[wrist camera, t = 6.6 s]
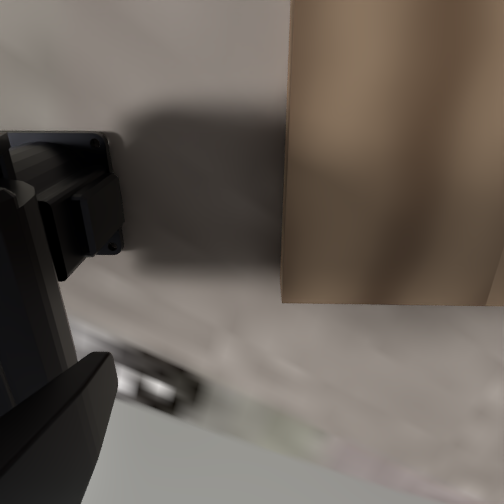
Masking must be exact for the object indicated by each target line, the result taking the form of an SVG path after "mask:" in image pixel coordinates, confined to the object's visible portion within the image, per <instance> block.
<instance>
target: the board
mask: <svg viewBox="0 0 504 504" xmlns="http://www.w3.org/2000/svg"><path fill="white" fill-rule="evenodd" d="M280 285H281V297H282V303H312V304H381V305H451V306H504V0H291V4H290V31H289V57H288V83H287V109H286V136H285V162H284V188H283V214H282V241H281V267H280Z"/></svg>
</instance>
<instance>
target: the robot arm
mask: <svg viewBox="0 0 504 504" xmlns="http://www.w3.org/2000/svg"><path fill="white" fill-rule="evenodd" d="M94 138H95V139H97V140H98V141H99V142H100V147H99V148H98V147H96V146H95V145H94V144H93V139H94ZM124 222H125V219H124V213H123V206H122V199H121V192H120V186H119V179H118V177H117V176H116V175H115V174H114V173H113V171H112V164H111V158H110V152H109V145H108V141H107V138H106V137H105V136H104V135H103V134H102V133H100V132H42V131H0V504H81V502H82V499H83V496H84V494H85V491H86V489H87V486H88V484H89V481H90V479H91V476H92V474H93V471H94V468H95V465H96V463H97V460H98V457H99V454H100V450H101V447H102V444H103V440H104V436H105V433H106V429H107V425H108V422H109V418H110V414H111V411H112V407H113V404H114V400H115V396H116V393H117V388H118V378H117V373H116V369H115V364H114V359H113V355H112V354H111V353H110V352H92V353H90V354H88V355H87V356H85V357H84V358H83V359H81V360H80V361H77V356H76V350H75V346H74V342H73V338H72V334H71V330H70V326H69V322H68V318H67V314H66V310H65V306H64V303H63V299H62V295H61V291H60V287H59V283H58V282H62V281H65V280H66V279H67V278H68V277H69V276H70V275H71V274H72V273H73V271H74V270H75V269H76V268H77V267H78V266H79V265H80V264H81V263H82V262H83V261H84V260H85V258H86V257H94V256H95V255H116V254H118V253H120V252H121V250H122V249H123V247H124V242H123V235H122V229H121V225H122V224H123V223H124ZM111 242H112V243H115V244H116V246H117V248H114V247H112V246H111V244H110V243H111Z"/></svg>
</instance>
